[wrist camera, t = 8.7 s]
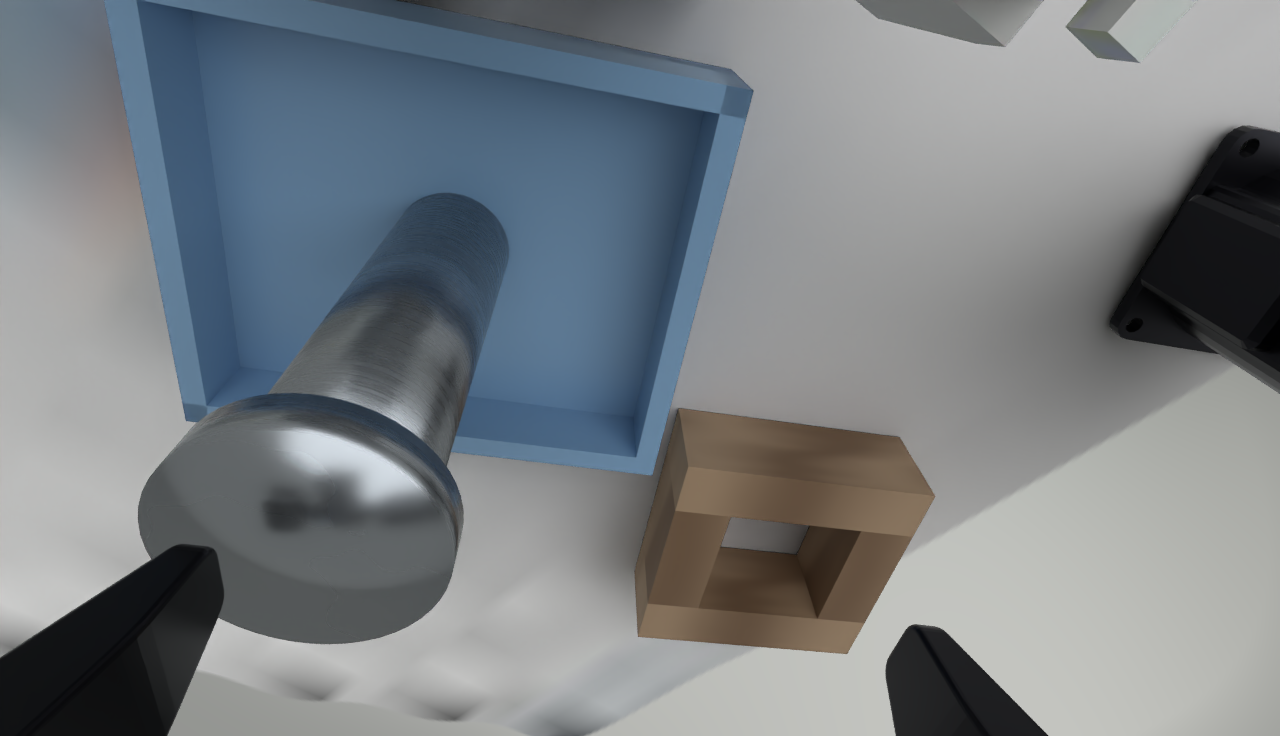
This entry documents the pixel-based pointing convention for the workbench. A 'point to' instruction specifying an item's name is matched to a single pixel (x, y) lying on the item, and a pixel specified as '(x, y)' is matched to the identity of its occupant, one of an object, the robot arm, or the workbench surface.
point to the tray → (420, 166)
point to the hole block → (780, 492)
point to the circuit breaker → (1001, 4)
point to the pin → (347, 446)
